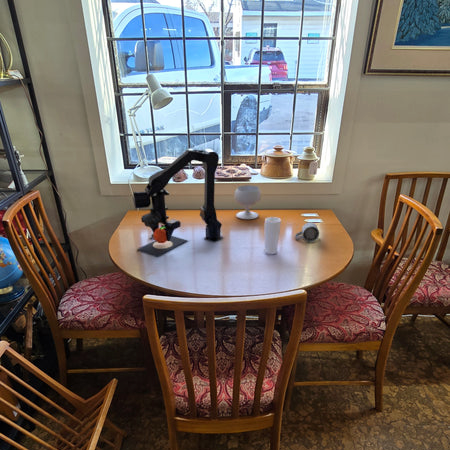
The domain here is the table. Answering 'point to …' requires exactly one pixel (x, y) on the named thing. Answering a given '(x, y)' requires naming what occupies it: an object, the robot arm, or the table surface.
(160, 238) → the clementine
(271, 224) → the drinking glass
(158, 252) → the placemat
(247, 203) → the chalice
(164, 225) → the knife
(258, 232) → the table surface
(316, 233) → the ceramic mug
